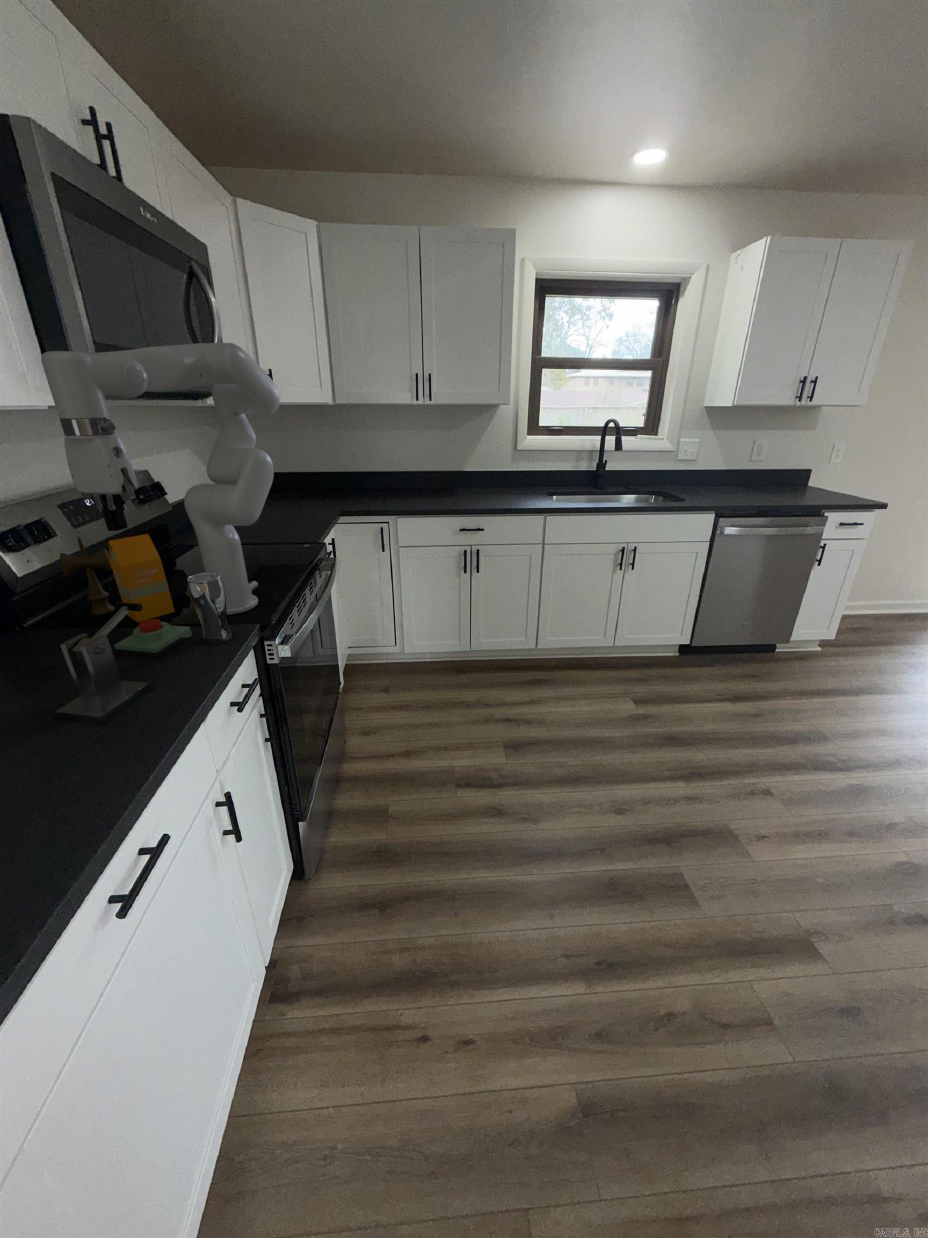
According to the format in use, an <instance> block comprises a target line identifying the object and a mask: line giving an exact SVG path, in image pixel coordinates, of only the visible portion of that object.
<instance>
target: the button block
mask: <svg viewBox="0 0 928 1238" xmlns="http://www.w3.org/2000/svg"><path fill="white" fill-rule="evenodd" d="M160 622H161V626H162V629H160V630H158V631H155V632H150V633H142V632H141V629H140V626H137V627H135V628H134V629H133V631H132V634H131V635H129V636H128V637H125V638H124V639H122V640H121V641H119V642H117V643H115V644H114V645H113V646H114V649H115V650H123V651H133V652H145V653H152V654H153V653H154V654H157V653H158V652H160V651H161V650H164V649H165V648H167V647H168V646H169V645H171V644H172V643H174V642H176V641H178V640H179V639H180V638H186V639H189V638H190V637H192V636H193V632H192V629H191V626H185V625H171V624H169V623H168V622H167V621H160Z"/></svg>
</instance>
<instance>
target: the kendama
mask: <svg viewBox="0 0 928 1238" xmlns="http://www.w3.org/2000/svg"><path fill="white" fill-rule="evenodd" d="M77 543H78V547H79V550H80V553H81V554H80V555H81V556H74V555H71V554H68V553H65V552H60V554H59V560H60V564H61V568H62V570H63V573H64V575H65V576H66V577H67V578H72V577H73V576H75V574H76V573H78V572H80V571H81V570H84V569H85V571H86V572H85V573H86V577H87V582H88V589H89V593H88V595H87V597H86V599H87V600H88V601H89V602H90V603H91V610H90V614H91V615H92V616H105V615H108V614H111V613H113V612H114V611H115V609H114V605H112V604H110V602H109V599H108V598H109V595H110V594H109V592H107V591H105V590H104V589H103V587H102V586H101V584H100V582H99V580H98V578H97V575H96V573H95V571H94V570H93V568H96V569H97V568H98V569H103V570H104V571H105V570H106V571H112V567H111V563H110V556H109V551H108V550H107V549H106V548H105V547H104V548H101V549H100V550H98V551H97V552H95V553H94V554H91V555H88V554H87V551H86V548H85V545H84V543H83V540H82V539H81V537H80V536H77Z"/></svg>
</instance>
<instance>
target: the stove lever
mask: <svg viewBox="0 0 928 1238" xmlns="http://www.w3.org/2000/svg"><path fill="white" fill-rule="evenodd" d="M113 607H114V610H117V612H116V613H115V614H113V616H112V617H110V619H109V620H108V621H107V622H105V624H104V625H102V627H100V629H99V630H98V631H97V632H96V633H95V634H94V635H93V636H92V637H90V638H89V639H86V638H83V639H82V640H81V641H80V642H79V643H78V644H77V645H76V646H75V647H74V648H73V649H72V651H73V652H74V653H75V654H76V655H77V656H78V657H79V659H83V660H85V658H84V655H83V653H82V650H81V646H82V645H84V644H86V643H88V642H90V641H92V640H94V639H96V638H98V637H100V636H102V635H105V636H108V635H109V634H110V633H111V631H112V630H113V629H114V628H115V627H116V626H117V625H118V624H119V623H120V622H121V621H122V620H123V619H124V618H125V617H126V616H127V615H126V614H127V613H128V612H129V611H141V610H142V609H143V606H142V604H137V603H125V602H122V601H115V602H113Z"/></svg>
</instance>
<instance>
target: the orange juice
mask: <svg viewBox="0 0 928 1238" xmlns="http://www.w3.org/2000/svg"><path fill="white" fill-rule="evenodd" d="M108 554H109V557H110V563H111V567H112V569H111V571H112V572H113V576H114V580H115V583H116V587H117V589H118V593H119V595H120V598H121V602H125V603H137V604H142V606H143V609H142V610H141V611H129V612H128V613H127V614H126V615H125V616H128V617H129V618H130V619H132V620H133V621H135V622H136V623H141V622H143V621H146V620H150V619H156V618H158V617H161V616H165V615H169V614H172V613H175V607H174V604H173V600H172V596H171V592H170V588H169V584H168V580H167V578H166V573H165V570H164V567H163V563H162V559H161V557H160V555H159V553H158V551H157V549H156V547H155V545H154V543H153V540H152V538H151V536H150V534H149V533H143V534H138V535H133V536H127V537H121V538H116V539H110V540H108Z"/></svg>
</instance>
